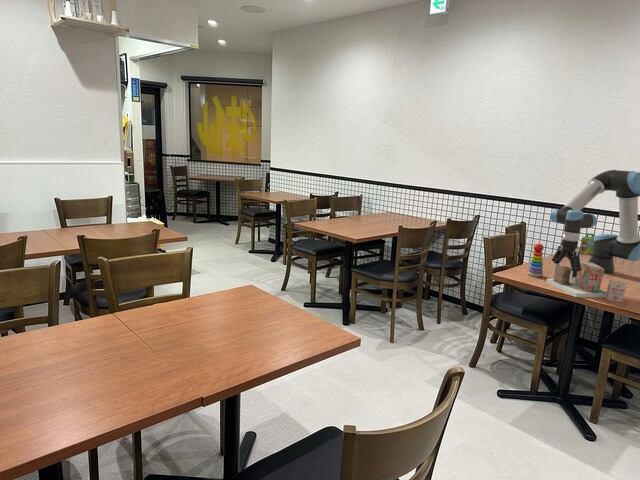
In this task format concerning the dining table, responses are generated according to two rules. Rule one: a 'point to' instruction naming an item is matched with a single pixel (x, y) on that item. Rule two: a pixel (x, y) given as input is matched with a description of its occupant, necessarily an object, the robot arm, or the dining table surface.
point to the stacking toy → (536, 261)
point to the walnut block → (562, 275)
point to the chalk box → (587, 244)
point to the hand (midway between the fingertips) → (563, 278)
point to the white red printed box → (615, 291)
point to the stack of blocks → (589, 276)
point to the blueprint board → (576, 290)
